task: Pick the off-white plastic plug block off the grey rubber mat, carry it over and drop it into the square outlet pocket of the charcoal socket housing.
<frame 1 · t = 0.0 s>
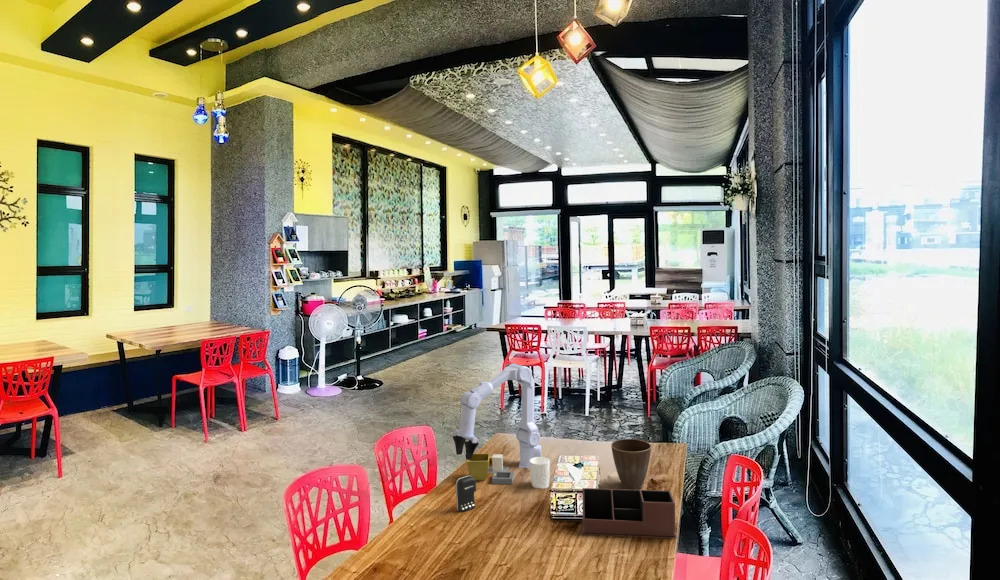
hand: (463, 456, 222), 11 cm above the table, tool pointing down, fingers open, 7 cm apart
white cup: (540, 486, 217), on the table
flower pot: (479, 479, 226), on the table
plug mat: (497, 470, 235), on the table
plug: (497, 469, 234), resting on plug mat
desk organizer: (627, 529, 181), on the table
plant pot: (631, 486, 214), on the table
battery charger: (467, 509, 199), on the table
socket housing: (503, 481, 223), on the table
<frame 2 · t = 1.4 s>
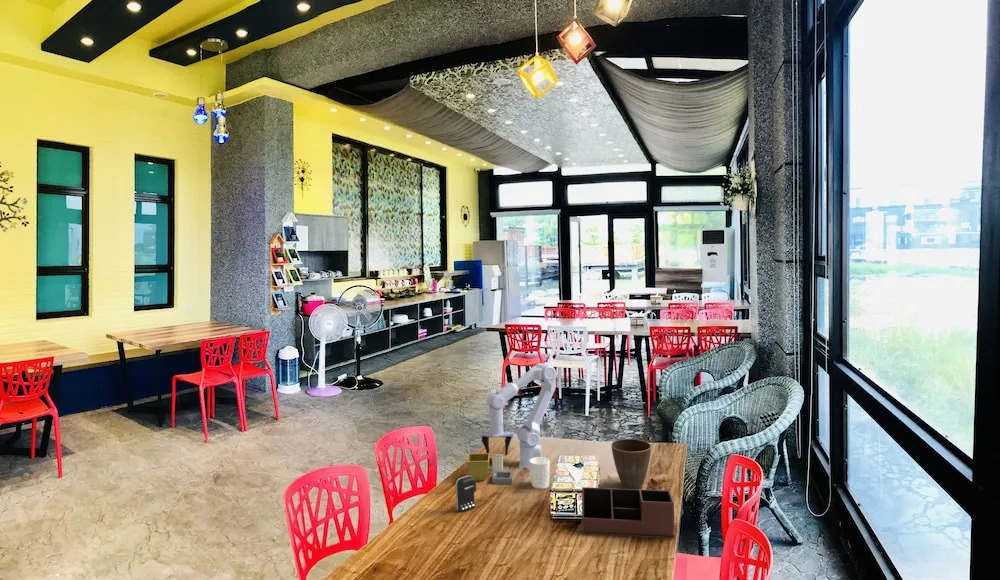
hand: (497, 454, 234), 7 cm above the table, tool pointing down, fingers open, 7 cm apart
nothing on the table moved.
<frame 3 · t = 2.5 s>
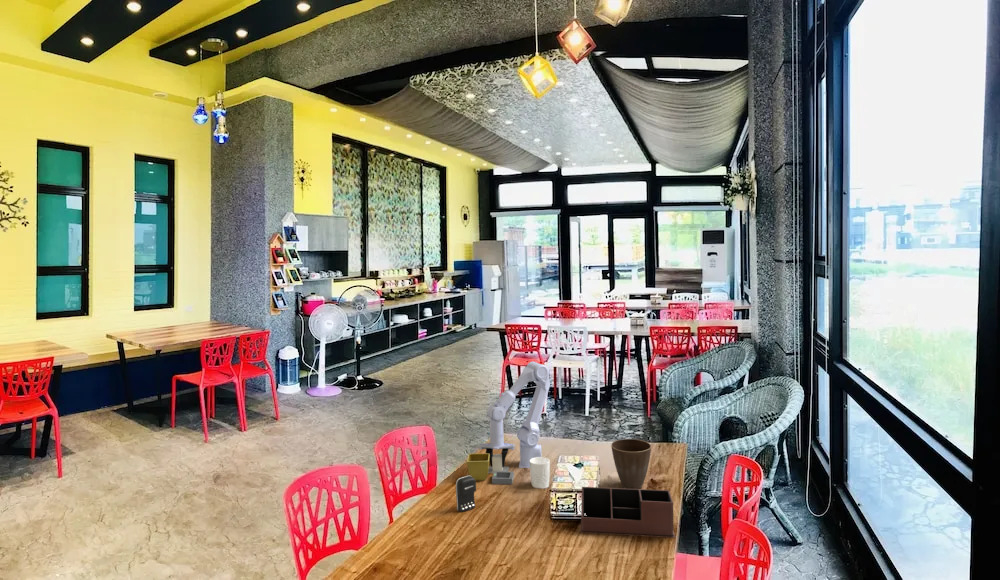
hand: (497, 466, 234), 2 cm above the table, tool pointing down, fingers closed on plug, 4 cm apart
plug: (497, 469, 234), resting on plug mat, touching gripper
everything else where it was.
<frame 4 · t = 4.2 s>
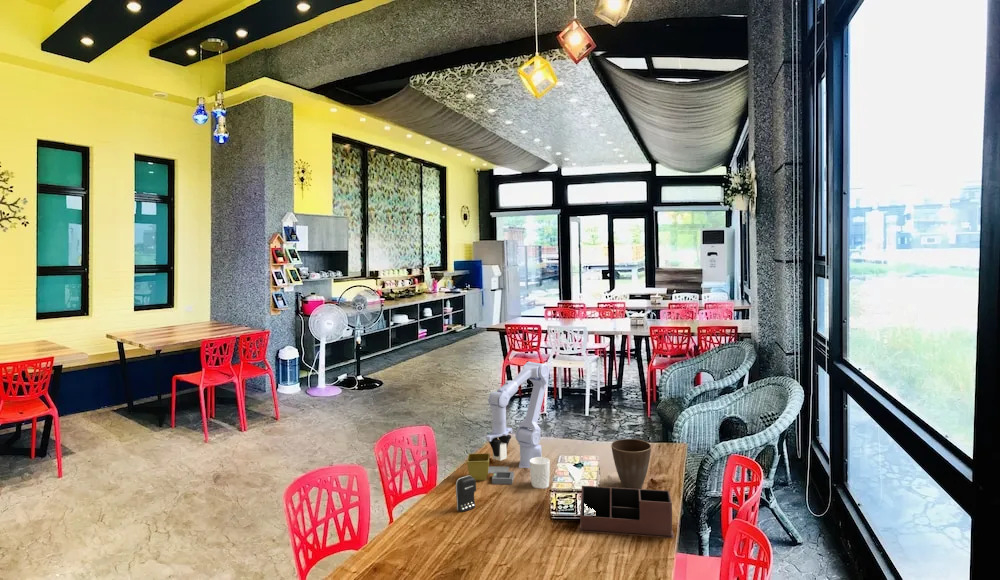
hand: (500, 454, 227), 9 cm above the table, tool pointing down, fingers closed on plug, 4 cm apart
plug: (499, 458, 227), point 8 cm above the table, touching gripper
when the fingers open (3 cm above the table, at t = 6.1 s): plug drops 1 cm, resting in socket housing.
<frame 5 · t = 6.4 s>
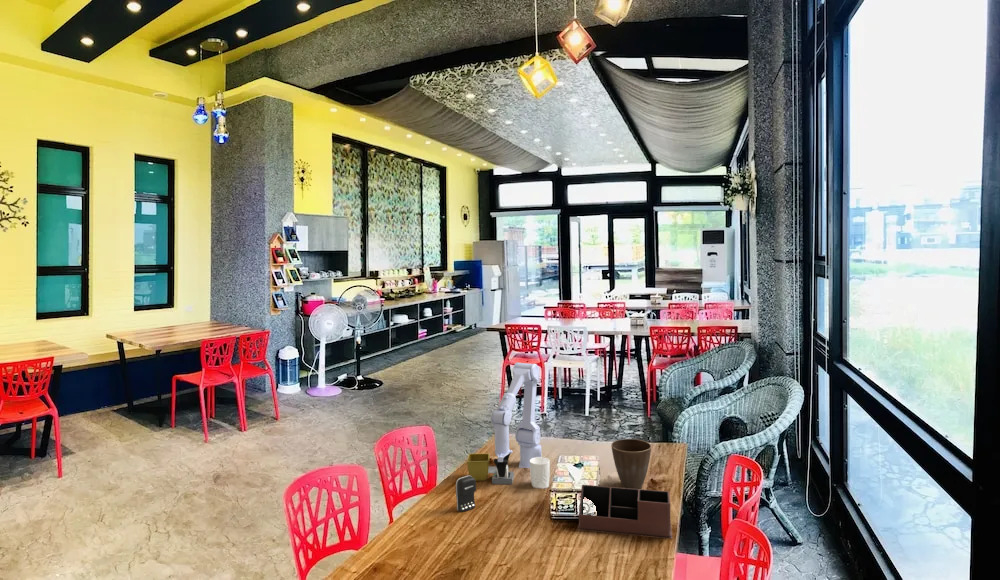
hand: (503, 473, 223), 3 cm above the table, tool pointing down, fingers open, 6 cm apart
plug: (502, 481, 223), resting in socket housing
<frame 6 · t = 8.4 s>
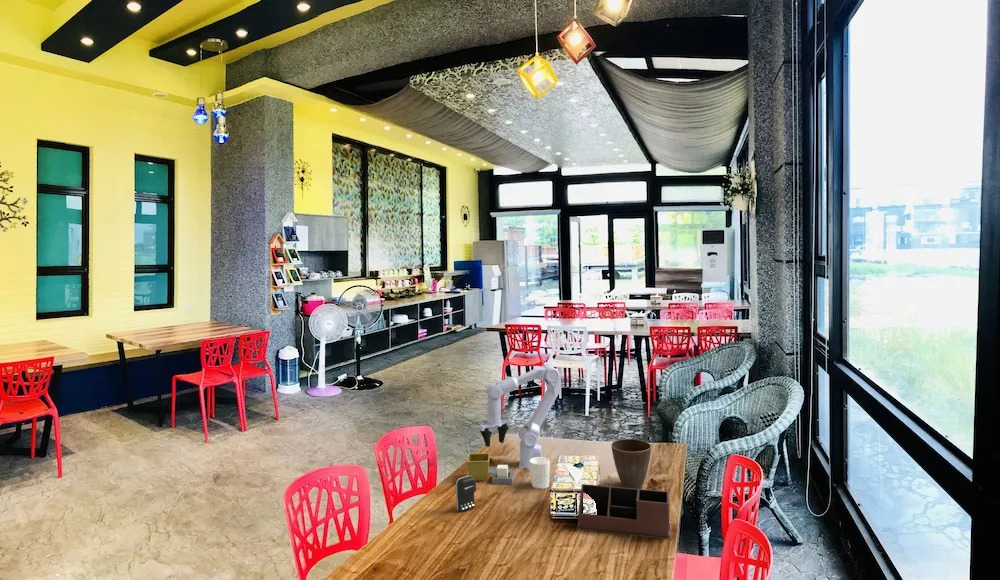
hand: (494, 444, 237), 10 cm above the table, tool pointing down, fingers open, 7 cm apart
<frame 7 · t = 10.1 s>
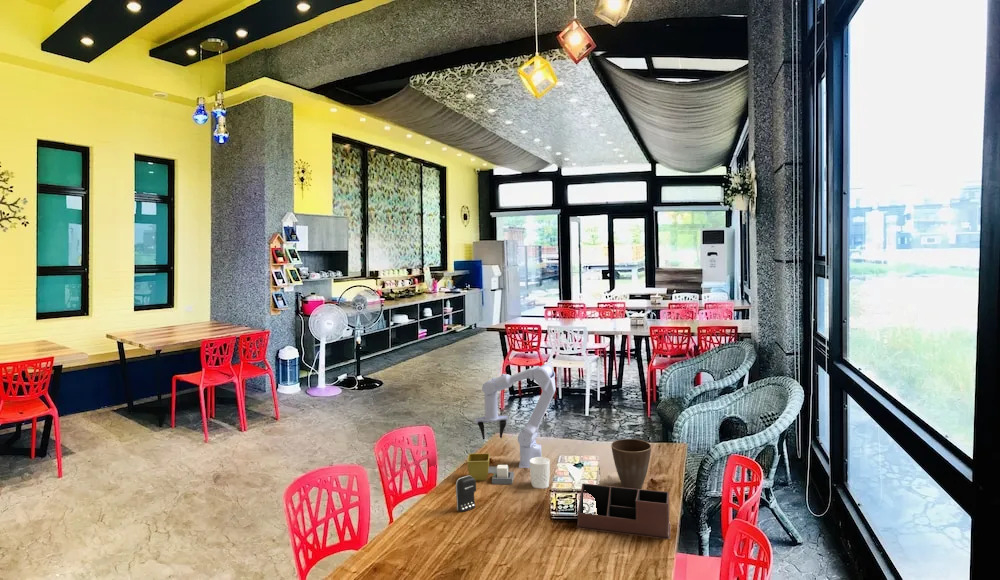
hand: (492, 438, 245), 10 cm above the table, tool pointing down, fingers open, 7 cm apart
at the end: plug 0.2 cm off-centre on the socket housing, point 0.0 cm above the socket housing's base; plug tilted 0°; the gripper is holding nothing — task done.
